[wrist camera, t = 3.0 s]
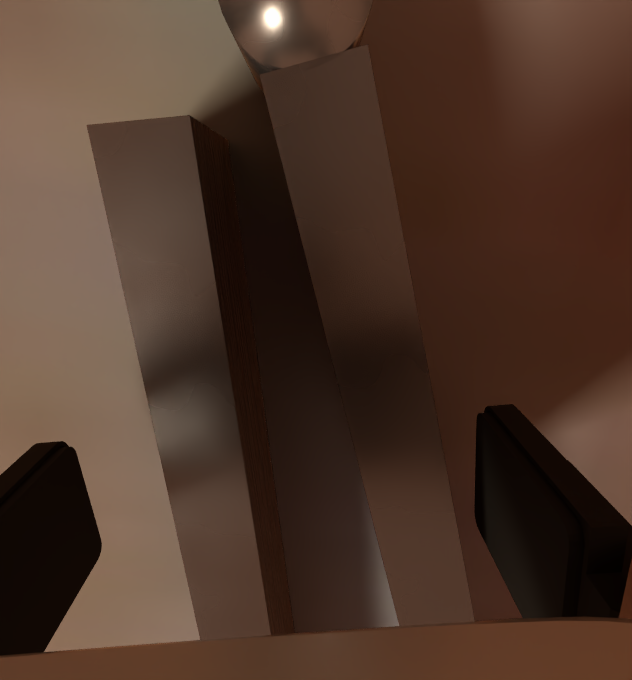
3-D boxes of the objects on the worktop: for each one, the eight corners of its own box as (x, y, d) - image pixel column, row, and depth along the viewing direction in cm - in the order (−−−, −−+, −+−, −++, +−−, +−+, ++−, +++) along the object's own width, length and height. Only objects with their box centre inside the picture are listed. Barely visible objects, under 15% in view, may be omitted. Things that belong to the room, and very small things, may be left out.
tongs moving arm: (234, 8, 9) (192, -97, 6) (340, -23, 9) (356, -149, 6) (444, 817, 17) (475, 966, 14) (501, 808, 17) (547, 955, 14)
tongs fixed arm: (104, -134, 9) (-23, -336, 5) (335, -158, 9) (351, -380, 5) (277, 822, 18) (270, 968, 14) (391, 815, 18) (410, 959, 14)
